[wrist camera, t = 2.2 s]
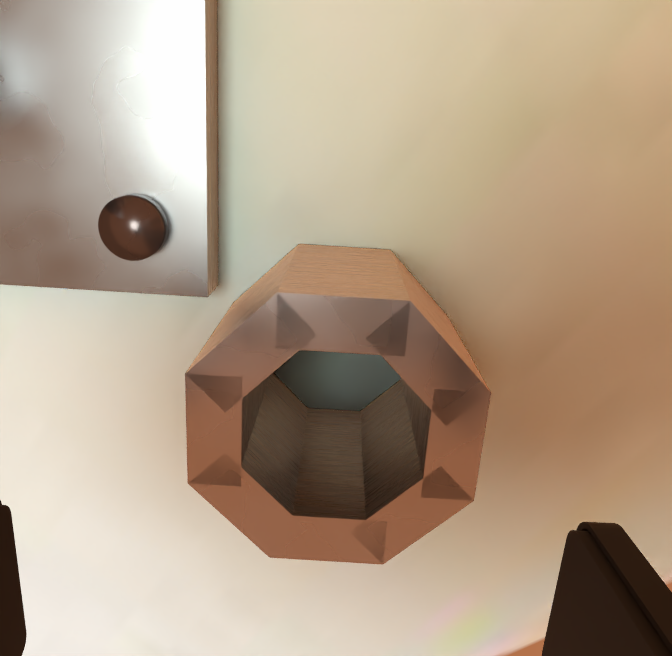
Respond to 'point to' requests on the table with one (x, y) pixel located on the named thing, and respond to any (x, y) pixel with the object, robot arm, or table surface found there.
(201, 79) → the shaft block
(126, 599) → the table surface
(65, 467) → the table surface
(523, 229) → the table surface
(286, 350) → the hub ring
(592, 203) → the table surface
